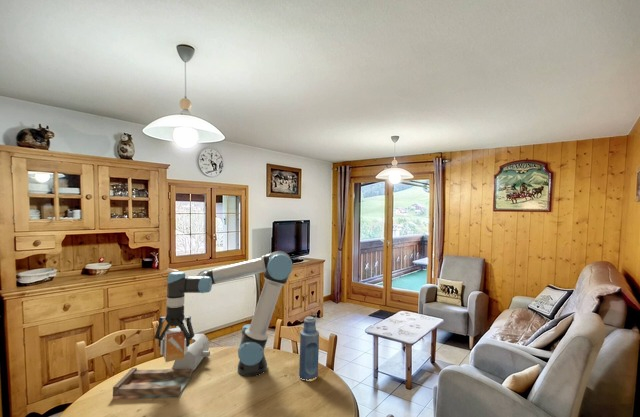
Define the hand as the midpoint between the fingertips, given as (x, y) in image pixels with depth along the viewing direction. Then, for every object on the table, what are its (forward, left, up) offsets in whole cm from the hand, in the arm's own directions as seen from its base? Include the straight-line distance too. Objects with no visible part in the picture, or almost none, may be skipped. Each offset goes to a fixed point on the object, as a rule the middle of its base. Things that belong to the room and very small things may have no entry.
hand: (174, 353), depth 150 cm
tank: (-3, -22, -16) cm, 27 cm away
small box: (0, 0, -2) cm, 2 cm away
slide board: (+8, 0, -16) cm, 18 cm away
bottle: (-64, -7, -16) cm, 66 cm away
